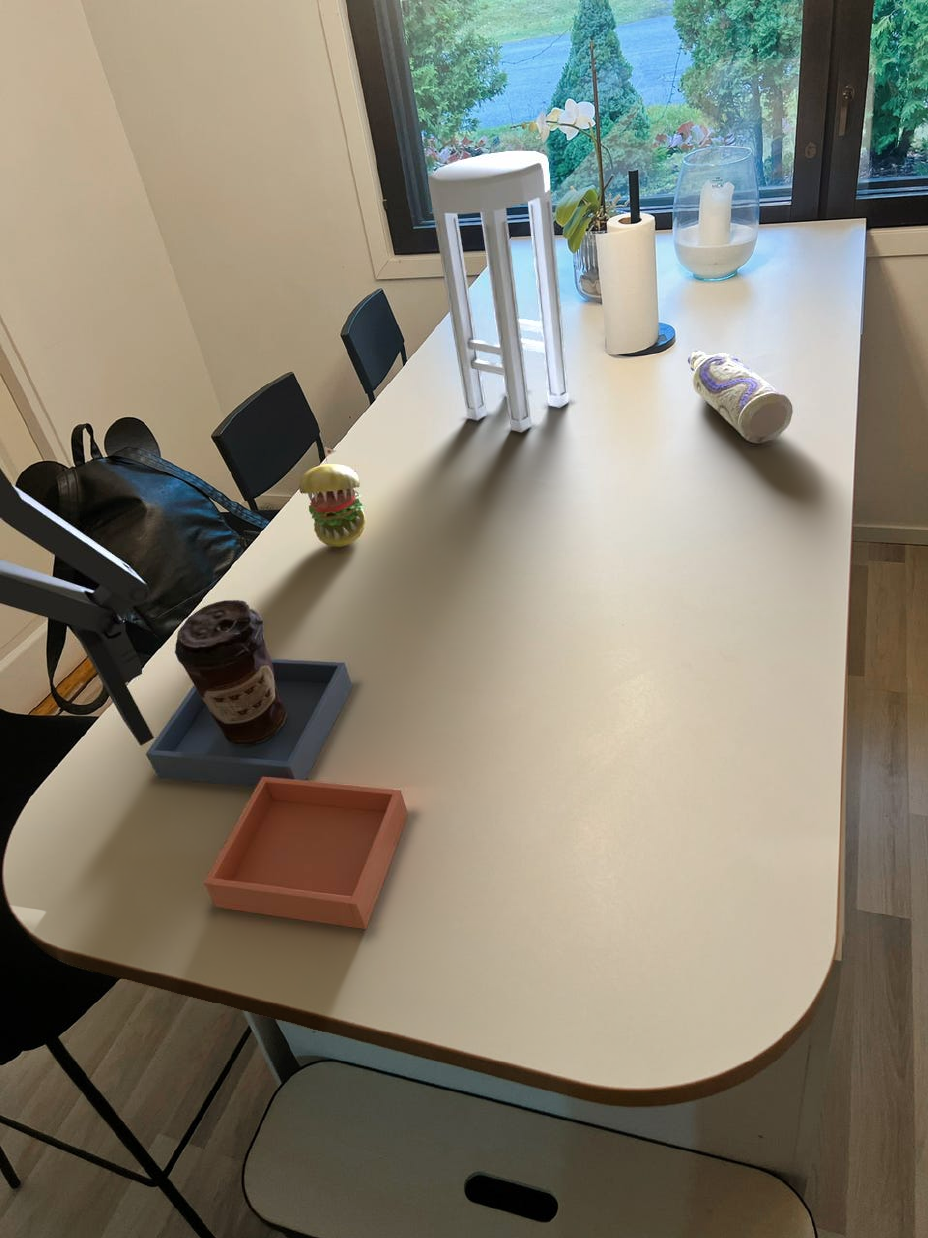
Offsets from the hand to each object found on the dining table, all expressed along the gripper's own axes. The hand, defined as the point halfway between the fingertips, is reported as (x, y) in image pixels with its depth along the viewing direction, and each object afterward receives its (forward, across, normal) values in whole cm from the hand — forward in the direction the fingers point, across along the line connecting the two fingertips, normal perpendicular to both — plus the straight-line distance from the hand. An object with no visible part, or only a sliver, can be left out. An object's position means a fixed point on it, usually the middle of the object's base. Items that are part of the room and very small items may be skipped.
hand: (9, 801), depth 43 cm
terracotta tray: (+29, +15, +10) cm, 34 cm away
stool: (+29, +82, +63) cm, 107 cm away
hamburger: (+29, +44, +53) cm, 75 cm away
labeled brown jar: (+28, +18, +28) cm, 44 cm away
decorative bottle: (+29, +100, +36) cm, 110 cm away
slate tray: (+29, +18, +28) cm, 44 cm away
